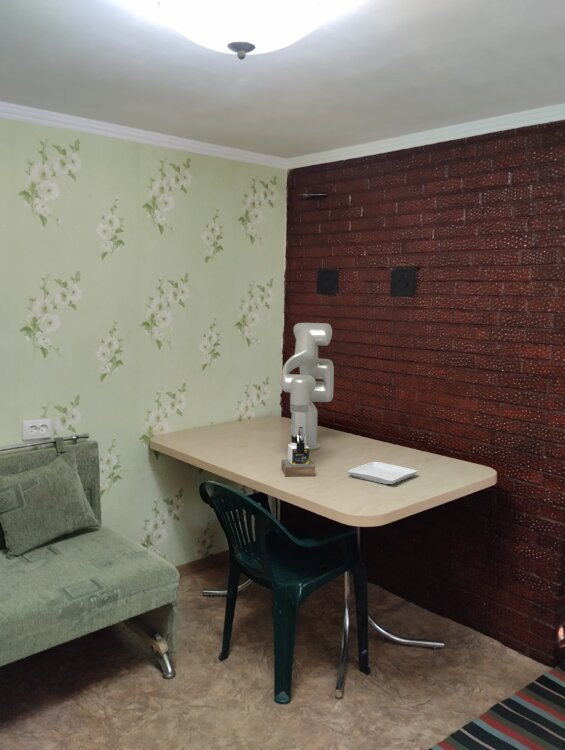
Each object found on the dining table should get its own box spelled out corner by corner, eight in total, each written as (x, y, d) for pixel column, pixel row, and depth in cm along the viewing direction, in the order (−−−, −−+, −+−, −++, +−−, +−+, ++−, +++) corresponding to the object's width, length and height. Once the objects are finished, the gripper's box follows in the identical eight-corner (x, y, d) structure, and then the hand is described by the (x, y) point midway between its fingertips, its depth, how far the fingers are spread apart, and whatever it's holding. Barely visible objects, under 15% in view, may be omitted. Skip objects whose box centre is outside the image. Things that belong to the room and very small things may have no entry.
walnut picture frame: (281, 468, 266) (281, 459, 266) (309, 468, 268) (309, 458, 268) (285, 476, 255) (285, 467, 254) (315, 476, 256) (315, 466, 256)
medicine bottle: (292, 465, 257) (292, 436, 255) (287, 460, 264) (288, 432, 262) (309, 464, 258) (309, 435, 257) (304, 460, 265) (304, 431, 264)
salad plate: (373, 467, 272) (373, 460, 271) (418, 477, 259) (419, 469, 258) (345, 478, 256) (345, 470, 255) (392, 489, 242) (392, 480, 242)
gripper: (287, 404, 266) (286, 444, 268) (293, 412, 249) (292, 455, 251) (304, 404, 267) (303, 444, 269) (312, 412, 250) (311, 454, 252)
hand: (298, 449), depth 260 cm, fingers open, 9 cm apart
